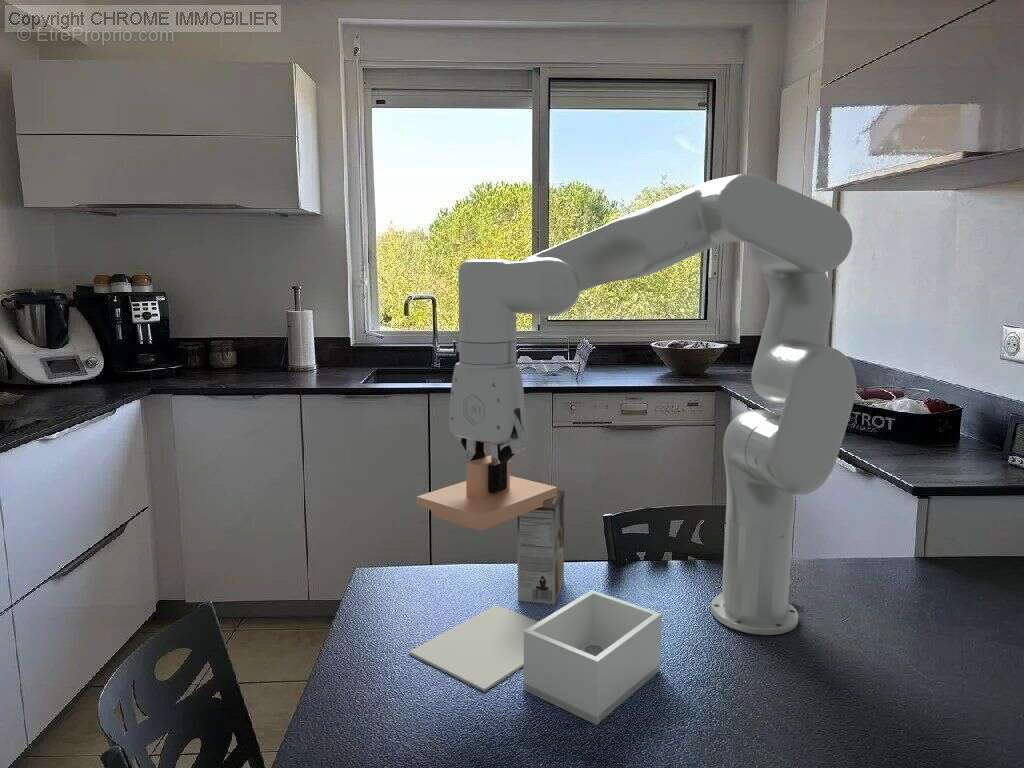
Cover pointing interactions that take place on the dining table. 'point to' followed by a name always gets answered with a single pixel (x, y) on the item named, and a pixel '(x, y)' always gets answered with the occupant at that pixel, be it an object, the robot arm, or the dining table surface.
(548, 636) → the tub
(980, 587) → the dining table surface
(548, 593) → the coffee box
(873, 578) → the dining table surface
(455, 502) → the lid
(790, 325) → the robot arm
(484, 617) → the mat
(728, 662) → the dining table surface
